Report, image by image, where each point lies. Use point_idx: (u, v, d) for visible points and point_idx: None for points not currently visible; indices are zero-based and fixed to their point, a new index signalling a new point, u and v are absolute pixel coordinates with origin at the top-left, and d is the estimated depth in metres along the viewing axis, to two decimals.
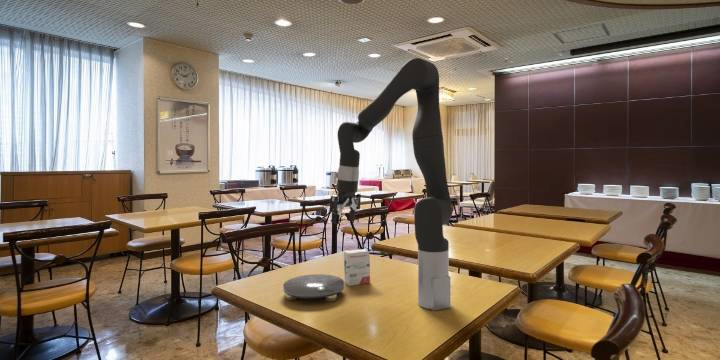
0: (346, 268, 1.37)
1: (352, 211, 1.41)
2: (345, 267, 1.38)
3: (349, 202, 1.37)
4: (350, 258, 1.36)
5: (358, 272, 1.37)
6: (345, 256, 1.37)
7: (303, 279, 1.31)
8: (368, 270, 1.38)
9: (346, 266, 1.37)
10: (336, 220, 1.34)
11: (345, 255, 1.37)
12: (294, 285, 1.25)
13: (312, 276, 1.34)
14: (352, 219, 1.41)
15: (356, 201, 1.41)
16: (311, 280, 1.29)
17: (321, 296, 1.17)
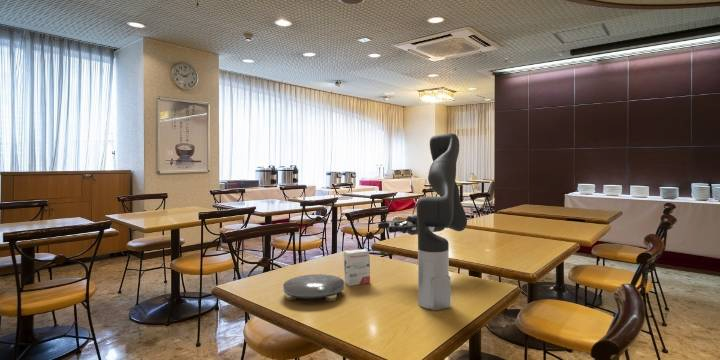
0: (346, 268, 1.37)
1: None
2: (345, 267, 1.38)
3: None
4: (350, 258, 1.36)
5: (358, 272, 1.37)
6: (345, 256, 1.37)
7: (303, 279, 1.31)
8: (368, 270, 1.38)
9: (346, 266, 1.37)
10: None
11: (345, 255, 1.37)
12: (294, 285, 1.25)
13: (312, 276, 1.34)
14: None
15: None
16: (311, 280, 1.29)
17: (321, 296, 1.17)
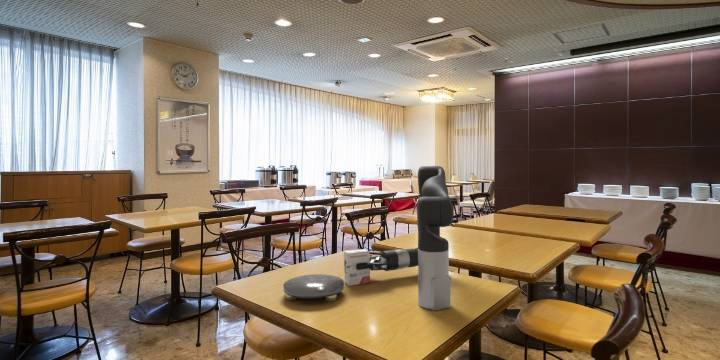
0: (346, 268, 1.37)
1: None
2: (345, 267, 1.38)
3: None
4: (350, 258, 1.36)
5: (358, 272, 1.37)
6: (345, 256, 1.37)
7: (303, 279, 1.31)
8: (368, 270, 1.38)
9: (346, 266, 1.37)
10: None
11: (345, 255, 1.37)
12: (294, 285, 1.25)
13: (312, 276, 1.34)
14: None
15: None
16: (311, 280, 1.29)
17: (321, 296, 1.17)
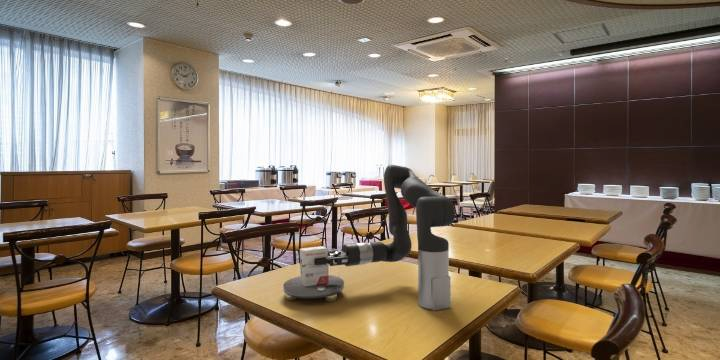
0: (301, 267, 1.24)
1: None
2: (301, 266, 1.25)
3: None
4: (306, 256, 1.23)
5: (315, 271, 1.24)
6: (301, 254, 1.25)
7: None
8: (326, 269, 1.26)
9: (301, 264, 1.24)
10: None
11: (301, 253, 1.25)
12: (294, 285, 1.25)
13: None
14: None
15: None
16: None
17: (321, 296, 1.17)
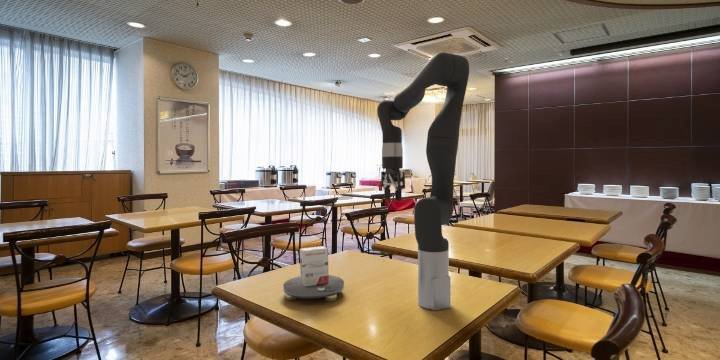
0: (301, 267, 1.24)
1: (388, 189, 1.43)
2: (301, 266, 1.25)
3: None
4: (306, 256, 1.23)
5: (315, 271, 1.24)
6: (301, 254, 1.25)
7: None
8: (326, 269, 1.26)
9: (302, 264, 1.24)
10: None
11: (301, 253, 1.25)
12: (294, 285, 1.25)
13: None
14: (389, 196, 1.43)
15: None
16: None
17: (321, 296, 1.17)
